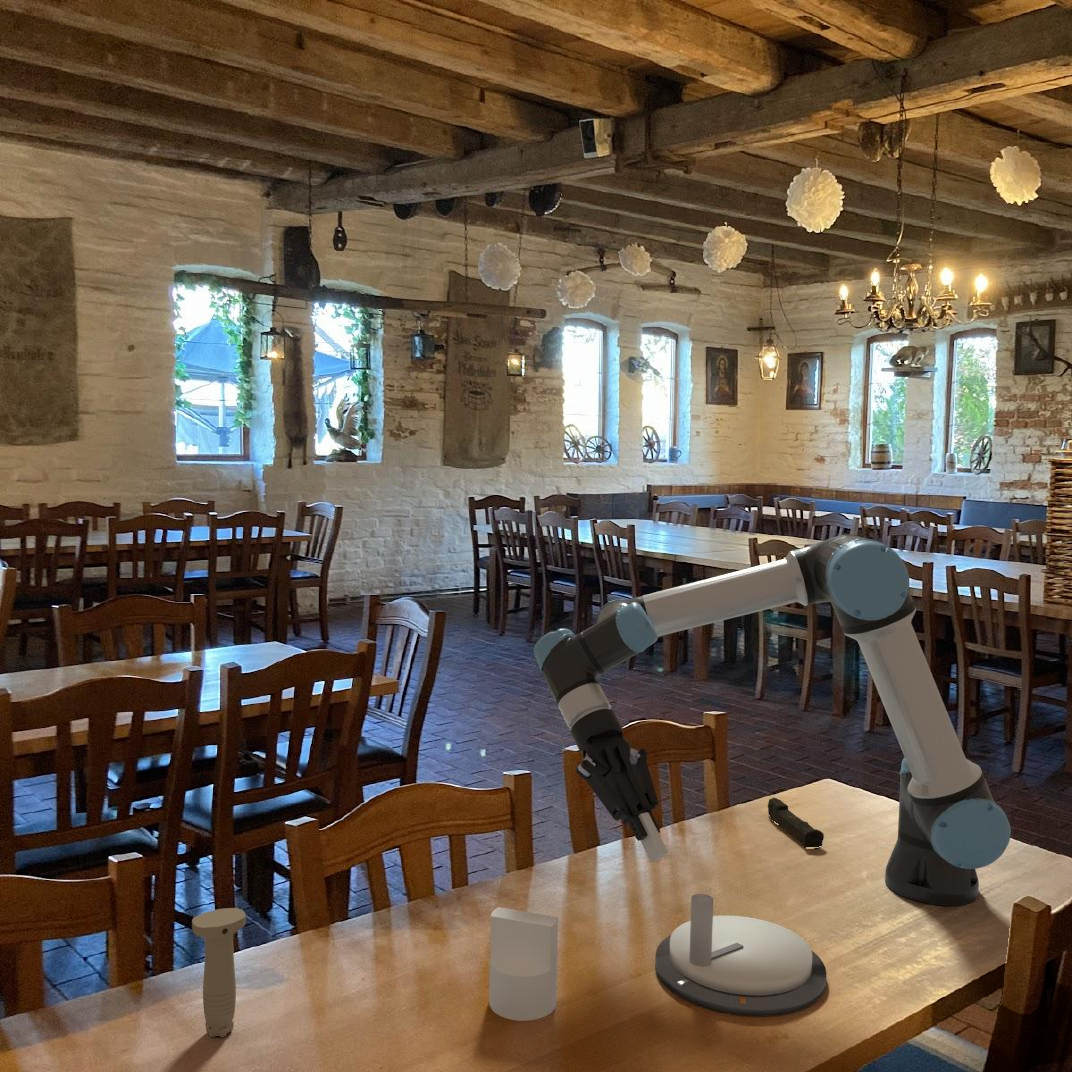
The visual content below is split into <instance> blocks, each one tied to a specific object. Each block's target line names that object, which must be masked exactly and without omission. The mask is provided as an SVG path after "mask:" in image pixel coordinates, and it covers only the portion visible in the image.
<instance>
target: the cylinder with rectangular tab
mask: <svg viewBox="0 0 1072 1072" xmlns="http://www.w3.org/2000/svg"><path fill="white" fill-rule="evenodd" d="M558 928H559V917H558V916H554V915H548V914H542V913H535V912H530V911H523V910H520V909H519V910H517V909H511V908H507V907H501V906H498V907H497V908H495V909H494V910H492V912H491V914H490V942H489V943H490V947H489V949H490V951H489V1008H490V1009H491V1011H493V1012H494V1014H496V1015H497V1016H500V1017H502V1018H504V1019H508V1020H511V1021H512V1020H513V1021H519V1022H523V1021H524V1022H526V1021H528V1022H529V1021H534V1020H535V1021H536V1020H539V1019H542V1017H543V1018H545V1017H547V1016H548V1014H549V1015H550V1014H552V1013H553V1011H554V1010H555V1009H556V1006H557V986H558V985H557V984H558V983H557V980H558V978H557V977H558V976H557V975H558V942H559V941H558V936H559V935H558V934H559V931H558V930H559V929H558Z"/></svg>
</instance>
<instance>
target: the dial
mask: <svg viewBox="0 0 1072 1072" xmlns="http://www.w3.org/2000/svg"><path fill="white" fill-rule="evenodd" d="M690 902H691V903H690V920H689V921H686V922H684V923H682V924H679V926H677V928H675V929H674V930H673V931H672V933H671V934H672V935H671V934H670V935H671V937H670V960H671V962H672V964H673V965H674V967H675V968H676V969H677V970H678V971H679V972H680V973H681V974H682V975H684V976H685V977H687V978H688V979H690V980H692V981H694V982H696V983H698V984H700V985H703V986H705V987H708V988H711V989H714V990H718V991H722V992H727V993H732V994H739V995H752V996H762V995H773V994H780V993H784V992H788V991H791V990H793V989H796V988H798V987H800V986H801V985H803V984H804V983H805V982H806V981H807V980H808V979H809V977H810V975H811V972H812V951H813V950H812V948H811V946H810V945H809V943H808V942H807V941H806V940H805V939H803V937H801V936H800V935H799V934H797V933H796V932H794V931H793V930H790V929H788V928H786V927H785V926H782V925H779V924H777V923H774V922H770V921H767V920H764V919H759V918H753V917H750V916H749V917H747V916H742V915H741V916H740V915H714V897H712V896H711V895H709V894H706V893H705V894H704V893H696V894H693V895H692V896H691V899H690ZM811 950H812V951H811Z"/></svg>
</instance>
